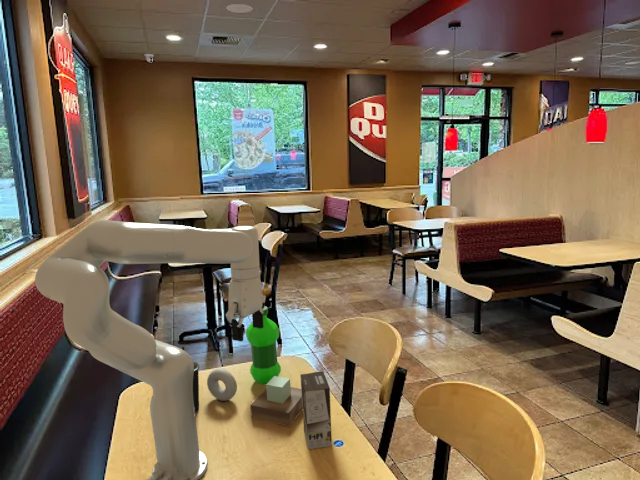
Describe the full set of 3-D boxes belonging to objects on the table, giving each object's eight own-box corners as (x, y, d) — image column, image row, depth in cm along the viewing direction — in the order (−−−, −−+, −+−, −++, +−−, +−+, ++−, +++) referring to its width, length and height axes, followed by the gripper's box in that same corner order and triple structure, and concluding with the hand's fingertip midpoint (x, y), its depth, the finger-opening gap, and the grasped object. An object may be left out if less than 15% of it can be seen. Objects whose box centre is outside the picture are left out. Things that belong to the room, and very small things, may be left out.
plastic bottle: (285, 373, 149) (281, 303, 143) (275, 390, 139) (270, 315, 133) (257, 371, 151) (252, 301, 146) (245, 387, 141) (239, 313, 136)
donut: (240, 399, 134) (237, 369, 132) (234, 405, 131) (231, 375, 129) (213, 393, 138) (210, 364, 136) (206, 399, 135) (203, 369, 133)
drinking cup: (176, 406, 132) (168, 344, 128) (202, 400, 135) (196, 339, 130) (176, 420, 125) (168, 355, 121) (204, 414, 128) (197, 350, 123)
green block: (267, 400, 126) (266, 384, 125) (275, 391, 131) (274, 375, 130) (282, 403, 124) (281, 387, 123) (290, 394, 129) (289, 378, 128)
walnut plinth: (289, 426, 121) (288, 413, 120) (251, 417, 125) (250, 404, 124) (307, 402, 131) (307, 390, 131) (272, 395, 136) (271, 383, 135)
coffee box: (332, 446, 112) (330, 388, 109) (307, 450, 111) (304, 391, 108) (326, 424, 121) (324, 370, 117) (303, 427, 120) (299, 373, 116)
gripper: (251, 264, 127) (254, 321, 130) (213, 279, 112) (217, 343, 115) (274, 266, 124) (276, 325, 127) (238, 282, 109) (241, 348, 112)
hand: (248, 333), depth 121 cm, fingers open, 9 cm apart
